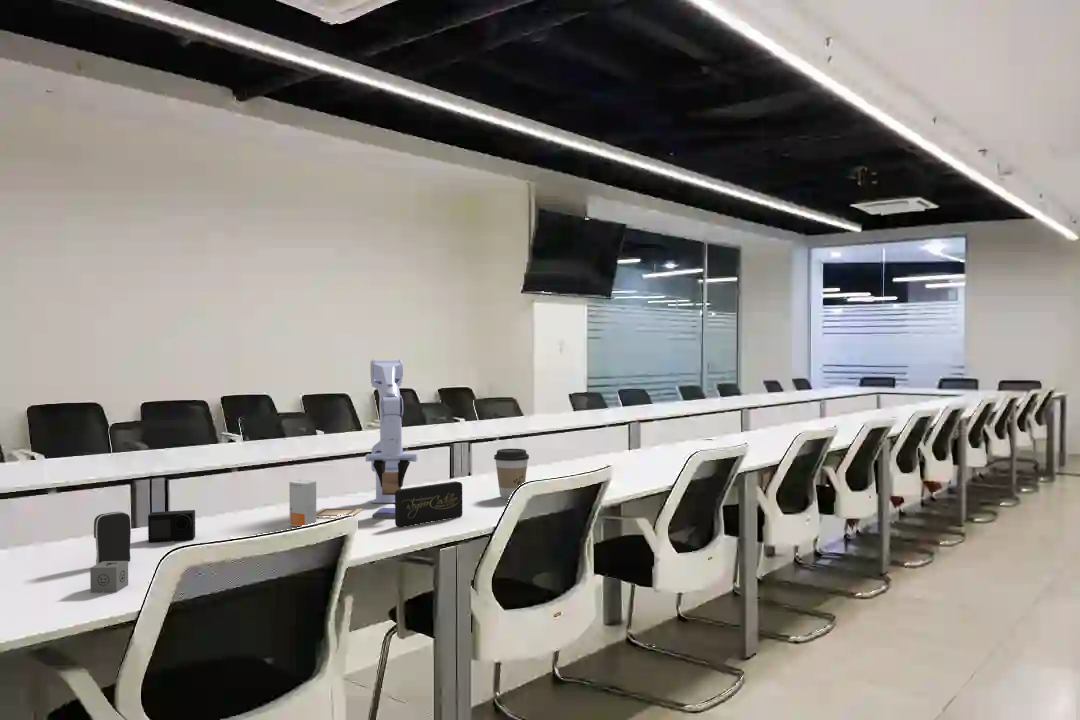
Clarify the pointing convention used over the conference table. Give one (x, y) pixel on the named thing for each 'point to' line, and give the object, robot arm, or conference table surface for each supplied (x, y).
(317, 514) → the print card
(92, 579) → the dice cube
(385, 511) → the ink pad
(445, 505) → the nameplate
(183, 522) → the digital camera
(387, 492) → the block
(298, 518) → the skincare box
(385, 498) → the robot arm
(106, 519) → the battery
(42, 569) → the conference table surface
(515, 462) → the coffee cup
